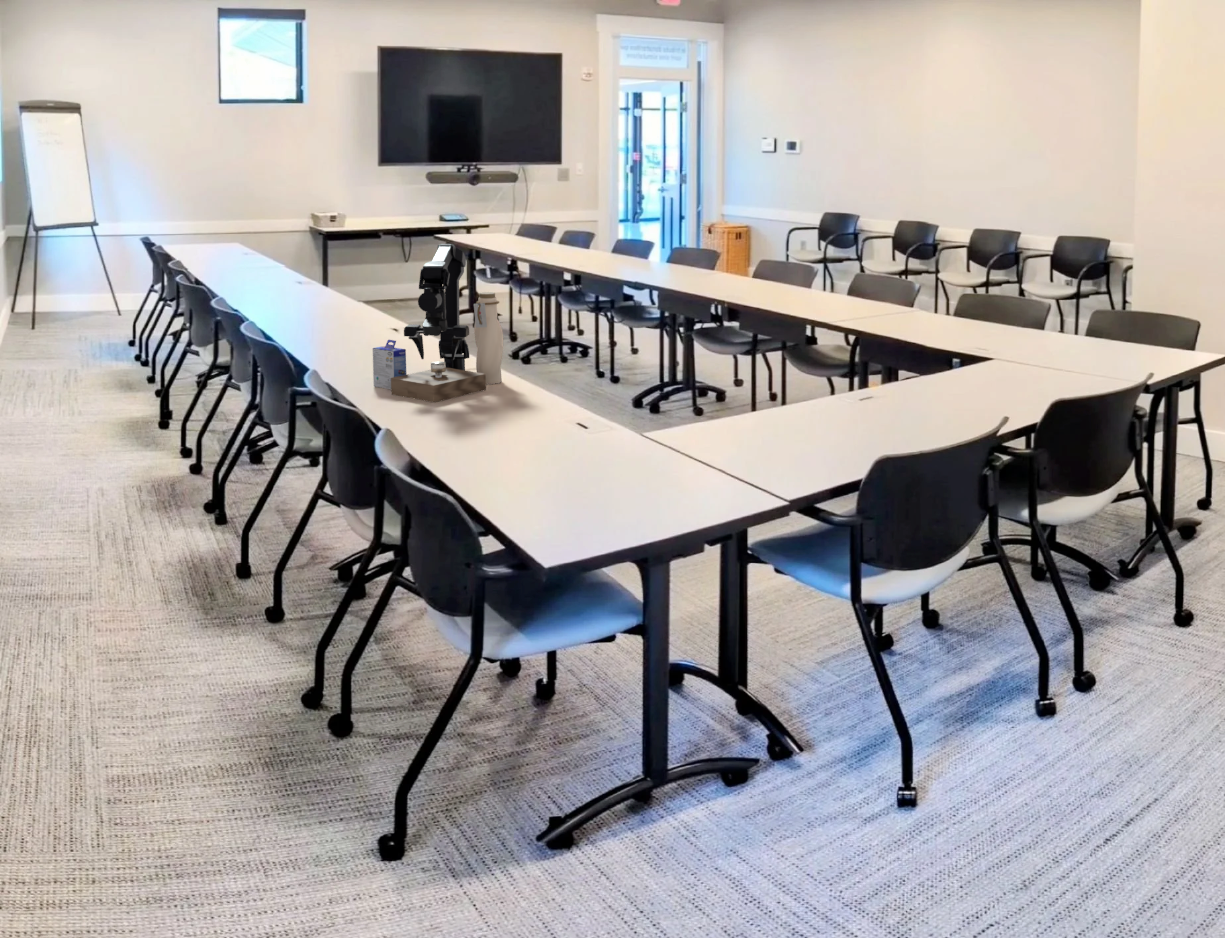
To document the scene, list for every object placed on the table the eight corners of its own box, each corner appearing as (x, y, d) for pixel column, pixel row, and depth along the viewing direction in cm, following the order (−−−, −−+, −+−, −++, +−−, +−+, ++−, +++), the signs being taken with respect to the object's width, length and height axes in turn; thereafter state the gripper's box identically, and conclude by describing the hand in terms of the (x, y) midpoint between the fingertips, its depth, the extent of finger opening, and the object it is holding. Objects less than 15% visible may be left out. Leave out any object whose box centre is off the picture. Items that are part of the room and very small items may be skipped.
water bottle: (498, 386, 351) (495, 295, 343) (470, 385, 353) (467, 295, 345) (507, 379, 361) (505, 291, 353) (480, 378, 362) (478, 290, 355)
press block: (443, 382, 356) (443, 367, 355) (486, 389, 346) (485, 373, 344) (391, 394, 339) (390, 377, 338) (434, 402, 329) (433, 385, 327)
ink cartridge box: (408, 387, 348) (406, 341, 344) (395, 390, 344) (392, 343, 340) (386, 383, 354) (384, 337, 350) (373, 386, 350) (370, 340, 346)
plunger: (439, 389, 345) (438, 360, 343) (449, 391, 343) (448, 362, 340) (428, 391, 342) (427, 363, 339) (439, 393, 339) (438, 364, 337)
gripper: (398, 310, 328) (400, 363, 332) (461, 311, 327) (463, 364, 331) (407, 305, 339) (409, 357, 343) (468, 306, 338) (470, 358, 342)
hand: (437, 359), depth 339 cm, fingers open, 9 cm apart
